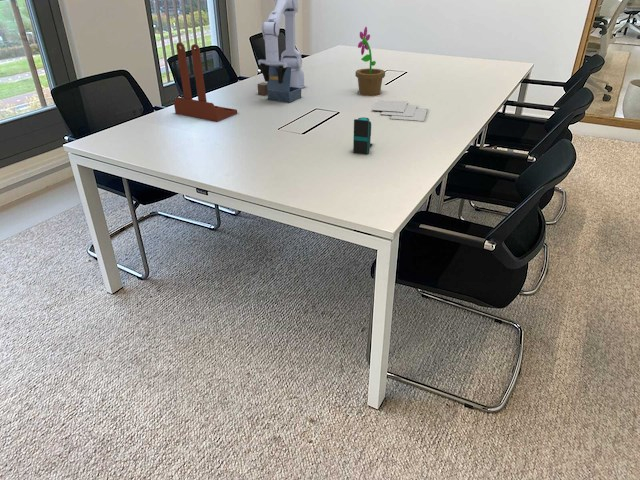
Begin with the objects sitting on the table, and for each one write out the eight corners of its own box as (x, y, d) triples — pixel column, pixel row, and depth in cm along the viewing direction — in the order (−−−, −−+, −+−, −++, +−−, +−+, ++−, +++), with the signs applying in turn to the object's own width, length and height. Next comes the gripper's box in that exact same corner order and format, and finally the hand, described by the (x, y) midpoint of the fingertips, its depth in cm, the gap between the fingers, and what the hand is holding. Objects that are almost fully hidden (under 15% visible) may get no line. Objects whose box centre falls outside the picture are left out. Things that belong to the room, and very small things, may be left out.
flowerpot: (363, 88, 252) (365, 24, 236) (388, 91, 245) (392, 26, 230) (349, 94, 241) (351, 28, 226) (376, 98, 235) (379, 30, 219)
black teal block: (376, 112, 175) (369, 121, 167) (375, 144, 182) (368, 154, 174) (361, 111, 177) (353, 119, 169) (360, 143, 183) (352, 152, 175)
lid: (269, 64, 230) (264, 64, 227) (291, 67, 225) (286, 66, 221) (267, 89, 234) (262, 89, 230) (289, 92, 228) (284, 92, 225)
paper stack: (429, 104, 225) (429, 102, 225) (423, 121, 204) (423, 119, 204) (378, 101, 231) (378, 99, 230) (368, 117, 210) (368, 115, 210)
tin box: (280, 94, 244) (279, 85, 241) (301, 97, 238) (301, 87, 236) (267, 99, 236) (267, 89, 234) (289, 102, 231) (289, 93, 228)
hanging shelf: (237, 113, 217) (230, 41, 202) (217, 121, 208) (208, 46, 192) (196, 106, 228) (186, 36, 212) (175, 113, 218) (163, 41, 203)
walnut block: (263, 92, 247) (262, 82, 244) (270, 93, 245) (269, 83, 243) (258, 94, 244) (257, 84, 241) (265, 95, 242) (264, 85, 239)
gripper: (253, 51, 219) (255, 82, 226) (280, 53, 213) (282, 85, 220) (262, 48, 225) (264, 79, 232) (289, 51, 218) (290, 82, 225)
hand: (273, 82), depth 226 cm, fingers open, 7 cm apart
